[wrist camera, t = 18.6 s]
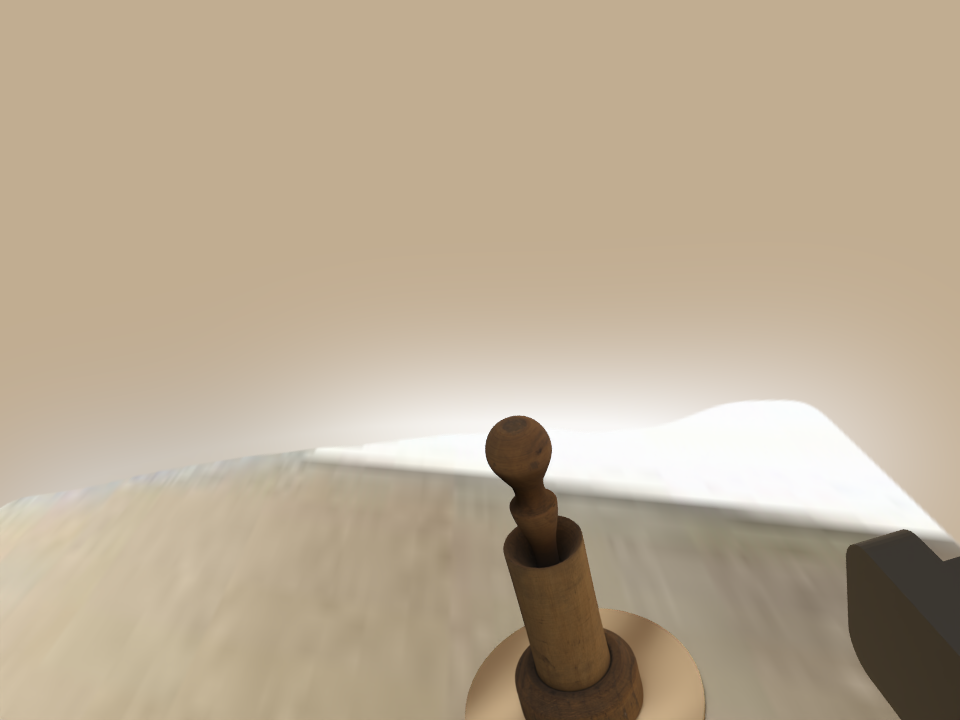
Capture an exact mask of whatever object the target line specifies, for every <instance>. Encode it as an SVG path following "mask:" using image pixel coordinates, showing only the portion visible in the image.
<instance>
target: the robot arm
mask: <svg viewBox="0 0 960 720" xmlns="http://www.w3.org/2000/svg"><path fill="white" fill-rule="evenodd" d="M846 568H847V597H848V625H849V633H850V637H851V641H852V644H853V647H854V650H855V652H856V655H857V657H858V659H859V661H860V663H861V665H862V667H863V668H864V670H865V672H866V673H867V675H868V676H869V677H870V679H871V680H872V681H873V683H874V684H875V685H876V687H877V688H878V689H879V691H880V692H881V693H882V695H883V696H884V697H885V699H886V700H887V701H888V703H889V704H890V705H891V707H892V708H893V709H894V711H895V712H896V713H897V715H898V716H899V717H900V719H901V720H960V557H957V558H953V559H950V560H947V561H942V560H941V559H940V558H939V557H938V556H937V555H936V554H935V553H934V552H933V551H932V550H931V549H930V548H929V547H928V546H927V545H926V544H925V543H924V542H923V541H922V540H921V539H920V538H919V537H918V536H916V535H915V534H914V533H912V532H911V531H909V530H904V529H903V530H900V531H896V532H893V533H890V534H886V535H883V536H880V537H876V538H873V539H870V540H866V541H863V542H860V543H856V544H853V545H850V546H849V547H848V549H847V553H846Z"/></svg>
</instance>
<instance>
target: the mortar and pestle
mask: <svg viewBox="0 0 960 720" xmlns="http://www.w3.org/2000/svg"><path fill="white" fill-rule="evenodd" d="M485 453H486V458H487V461H488V464H489V466H490V468H491V469H492V470H493V472H494V473H495V474H496V475H497V476H499V477H500V478H501V479H502V480H503V481H504V482H506V483H507V484H508V485H509V486H511V487H512V488H513V490H514V493H515V497H514V498H513V499H512V500H511V502H510V512H511V514H512V516H513V518H514V520H515V522H516V524H517V525H518V526H517V527H516V528H515V529H514V530H513V531H512V532H511V533H510V534H509V535H508V536H507V538H506V540H505V543H504V548H503V550H504V555H505V559H506V562H507V566H508V569H509V572H510V576H511V579H512V582H513V586H514V589H515V593H516V596H517V600H518V603H519V607H520V610H521V614H522V617H523V621H524V625H525V628H526V632H527V636H528V639H529V643H530V645H529V646H528V647H527V649H526V650H525V651H524V652H523V654H522V655H521V657H520V659H519V661H518V664H517V667H516V671H515V685H516V690H517V694H518V697H519V701H520V704H521V708H522V712H523V715H524V717H525V719H526V720H636V718H637V717H638V715H639V713H640V710H641V707H642V704H643V686H642V681H641V677H640V673H639V669H638V664H637V660H636V657H635V655H634V653H633V651H632V649H631V647H630V646H629V645H628V643H627V642H626V641H625V640H624V639H623V638H621V637H620V636H619V635H617V634H616V633H614V632H612V631H610V630H608V629H605V628H603V625H602V621H601V617H600V613H599V609H598V604H597V600H596V596H595V591H594V587H593V582H592V578H591V573H590V568H589V564H588V559H587V554H586V549H585V544H584V540H583V535H582V531H581V529H580V527H579V526H578V525H577V524H576V523H575V522H574V521H572V520H571V519H569V518H566V517H563V516H558V505H557V498H556V495H555V494H554V493H553V492H552V491H550V490H548V489H545V487H544V484H543V478H544V476H545V473H546V471H547V468H548V465H549V463H550V459H551V454H552V446H551V441H550V438H549V436H548V434H547V432H546V430H545V429H544V428H543V427H542V426H541V425H540V424H539V423H538V422H537V421H535V420H534V419H532V418H529V417H526V416H511V417H508V418H505V419H503V420H501V421H500V422H498V423H497V424H496V425H495V426H494V427H493V428H492V429H491V431H490V432H489V434H488V437H487V440H486V445H485Z"/></svg>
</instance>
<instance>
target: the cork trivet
mask: <svg viewBox="0 0 960 720" xmlns="http://www.w3.org/2000/svg"><path fill="white" fill-rule="evenodd" d="M598 609H599V613H600V617H601V621H602V625H603V628H605V629H608V630H610V631H612V632H614V633H616V634H617V635H619V636H620V637H621V638H623V639H624V640H625V641H626V642H627V643H628V645H629V646H630V647H631V649H632V651H633V653H634V655H635V657H636V660H637V664H638V669H639V673H640V677H641V681H642V686H643V704H642V707H641V710H640V713H639V715H638V717H637V718H636V720H705V696H704V689H703V684H702V680H701V676H700V673H699V671H698V668H697V666H696V664H695V662H694V660H693V658H692V657H691V655H690V654H689V652H688V651H687V649H686V648H685V647H684V646H683V645H682V644H681V642H680V641H679V640H678V639H676V638H675V637H674V636H673V635H672V634H671V633H670V632H668V631H667V630H665V629H664V628H662V627H661V626H659V625H658V624H656V623H654V622H652V621H650V620H648V619H646V618H643V617H640V616H638V615H635V614H631V613H628V612H624V611H619V610H612V609H600V608H598ZM529 645H530V643H529V639H528V636H527V632H526V628H525V626H524V627H522V628H521V629H519V630H517V631H516V632H514V633H513V634H511V635H510V636H509V637H507V638H506V639H505V640H504V641H502V642H501V643H500V644H499V645H498V646H497V647H496V648H495V649H494V650H493V651H492V652H491V653H490V655H489V656H488V657H487V658H486V659H485V661H484V662H483V664H482V665H481V667H480V668H479V670H478V671H477V673H476V675H475V677H474V679H473V681H472V684H471V687H470V690H469V693H468V697H467V702H466V711H465V720H526V719H525V717H524V715H523V712H522V708H521V704H520V701H519V697H518V694H517V690H516V685H515V671H516V667H517V664H518V661H519V659H520V657H521V655H522V654H523V652H524V651H525V650H526V649H527V647H528V646H529Z"/></svg>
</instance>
